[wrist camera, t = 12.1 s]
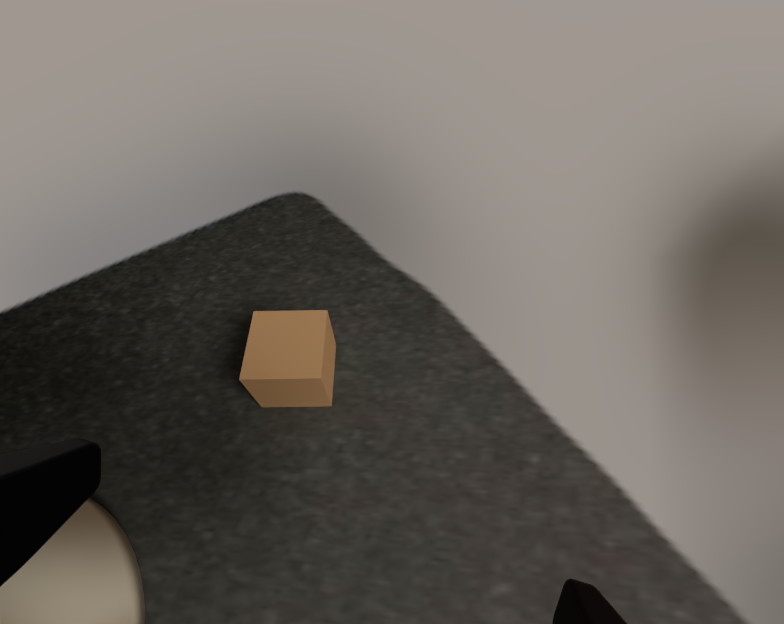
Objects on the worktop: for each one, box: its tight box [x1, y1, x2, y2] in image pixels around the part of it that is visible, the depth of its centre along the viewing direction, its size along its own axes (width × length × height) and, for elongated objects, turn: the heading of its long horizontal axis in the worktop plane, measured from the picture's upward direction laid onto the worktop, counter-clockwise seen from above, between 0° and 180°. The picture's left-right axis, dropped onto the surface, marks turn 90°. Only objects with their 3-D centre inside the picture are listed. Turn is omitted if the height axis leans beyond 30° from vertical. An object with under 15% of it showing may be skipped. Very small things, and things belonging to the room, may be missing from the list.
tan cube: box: [239, 310, 336, 407], centre depth 22 cm, size 4×4×4 cm
